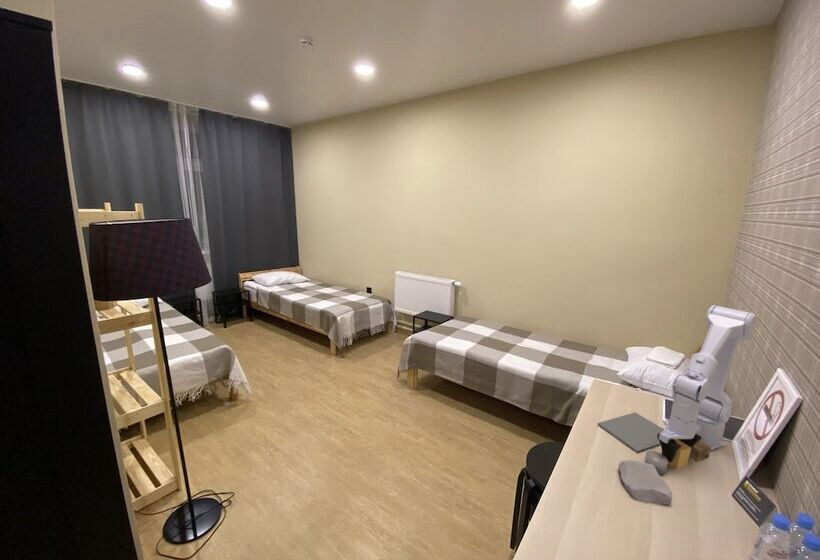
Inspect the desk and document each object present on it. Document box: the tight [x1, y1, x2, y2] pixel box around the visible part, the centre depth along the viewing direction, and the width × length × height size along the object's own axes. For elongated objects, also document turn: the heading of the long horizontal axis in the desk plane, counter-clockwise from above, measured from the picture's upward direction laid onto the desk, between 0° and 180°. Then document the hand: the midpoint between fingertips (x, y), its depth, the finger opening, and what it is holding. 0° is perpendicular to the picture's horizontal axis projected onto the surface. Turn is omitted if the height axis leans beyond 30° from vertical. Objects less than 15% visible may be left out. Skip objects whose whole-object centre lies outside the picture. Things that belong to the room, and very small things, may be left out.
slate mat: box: [597, 412, 665, 454], centre depth 111 cm, size 18×14×1 cm
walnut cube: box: [689, 441, 712, 463], centre depth 101 cm, size 5×5×4 cm
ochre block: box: [667, 439, 691, 470], centre depth 98 cm, size 4×4×6 cm
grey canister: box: [643, 450, 668, 477], centre depth 95 cm, size 5×5×4 cm
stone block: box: [618, 459, 673, 506], centre depth 90 cm, size 12×5×10 cm
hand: (674, 456), depth 98 cm, fingers open, 6 cm apart
